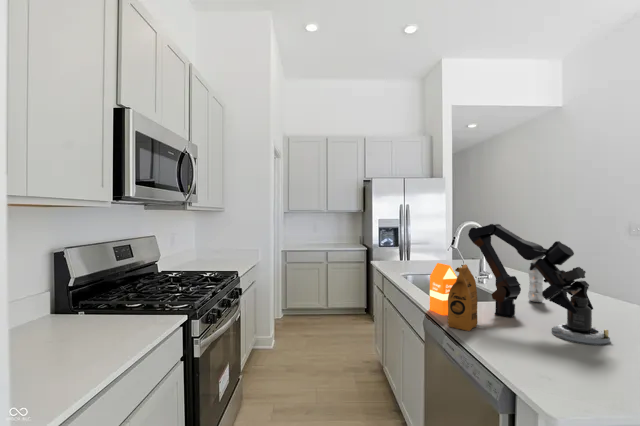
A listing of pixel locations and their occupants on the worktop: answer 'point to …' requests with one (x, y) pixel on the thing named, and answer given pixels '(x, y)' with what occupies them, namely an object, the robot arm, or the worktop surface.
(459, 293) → the coffee package
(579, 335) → the seat plate
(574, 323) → the supplement bottle
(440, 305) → the orange juice
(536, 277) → the plastic bottle
